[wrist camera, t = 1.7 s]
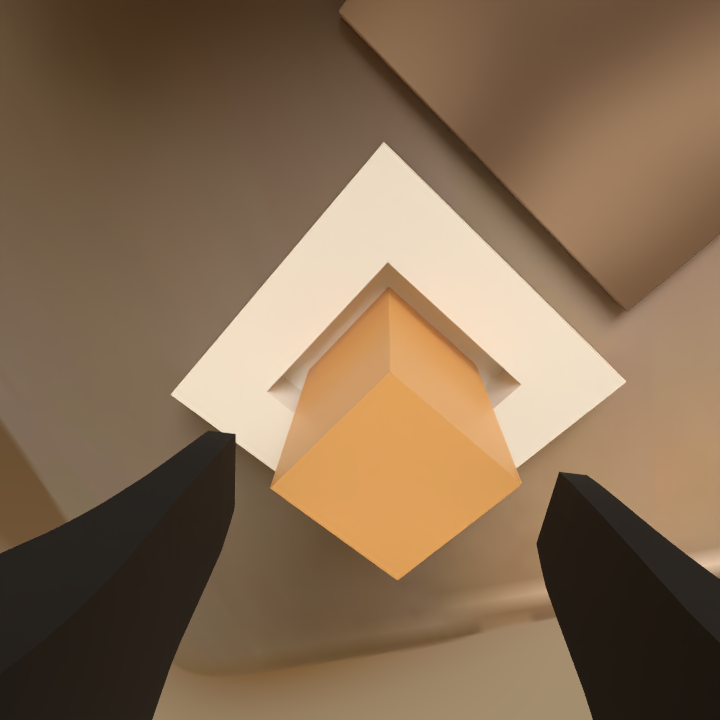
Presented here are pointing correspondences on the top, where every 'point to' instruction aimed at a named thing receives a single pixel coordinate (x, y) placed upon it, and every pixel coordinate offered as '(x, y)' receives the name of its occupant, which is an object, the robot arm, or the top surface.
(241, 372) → the socket block
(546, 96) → the pad
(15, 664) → the robot arm
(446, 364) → the plug
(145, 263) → the top surface
